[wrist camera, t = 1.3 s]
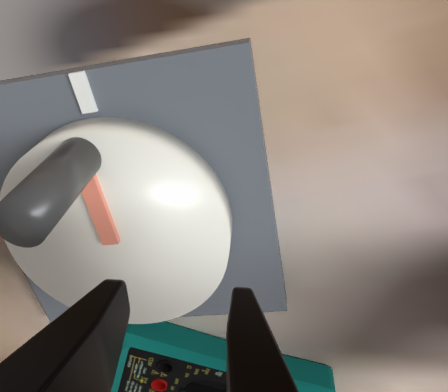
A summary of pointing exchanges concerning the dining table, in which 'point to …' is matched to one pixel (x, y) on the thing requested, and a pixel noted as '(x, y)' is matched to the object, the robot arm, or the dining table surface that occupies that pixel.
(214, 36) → the dining table surface
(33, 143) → the base plate
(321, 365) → the digital multimeter
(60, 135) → the dial
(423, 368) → the dining table surface
